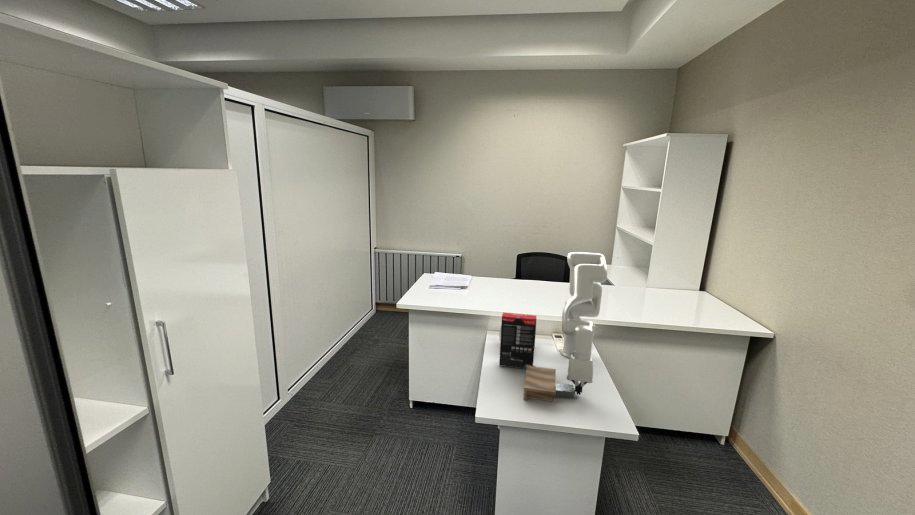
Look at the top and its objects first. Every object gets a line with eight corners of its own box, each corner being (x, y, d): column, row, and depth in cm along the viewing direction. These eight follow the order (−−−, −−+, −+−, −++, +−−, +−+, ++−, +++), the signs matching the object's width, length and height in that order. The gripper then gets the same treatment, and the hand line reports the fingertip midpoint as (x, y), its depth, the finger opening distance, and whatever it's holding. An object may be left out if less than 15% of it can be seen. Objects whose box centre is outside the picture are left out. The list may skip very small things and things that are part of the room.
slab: (572, 391, 167) (572, 384, 166) (574, 399, 161) (575, 391, 160) (535, 388, 169) (536, 381, 168) (536, 395, 163) (537, 388, 162)
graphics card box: (533, 364, 191) (536, 313, 186) (533, 370, 185) (536, 318, 179) (500, 360, 195) (502, 311, 189) (498, 367, 188) (501, 315, 182)
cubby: (526, 377, 179) (527, 365, 178) (554, 381, 176) (555, 369, 174) (523, 400, 160) (524, 387, 159) (554, 405, 157) (555, 392, 155)
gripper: (563, 356, 158) (560, 395, 162) (601, 360, 154) (597, 400, 158) (563, 348, 165) (560, 386, 169) (599, 352, 161) (595, 391, 165)
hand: (578, 393), depth 163 cm, fingers closed
